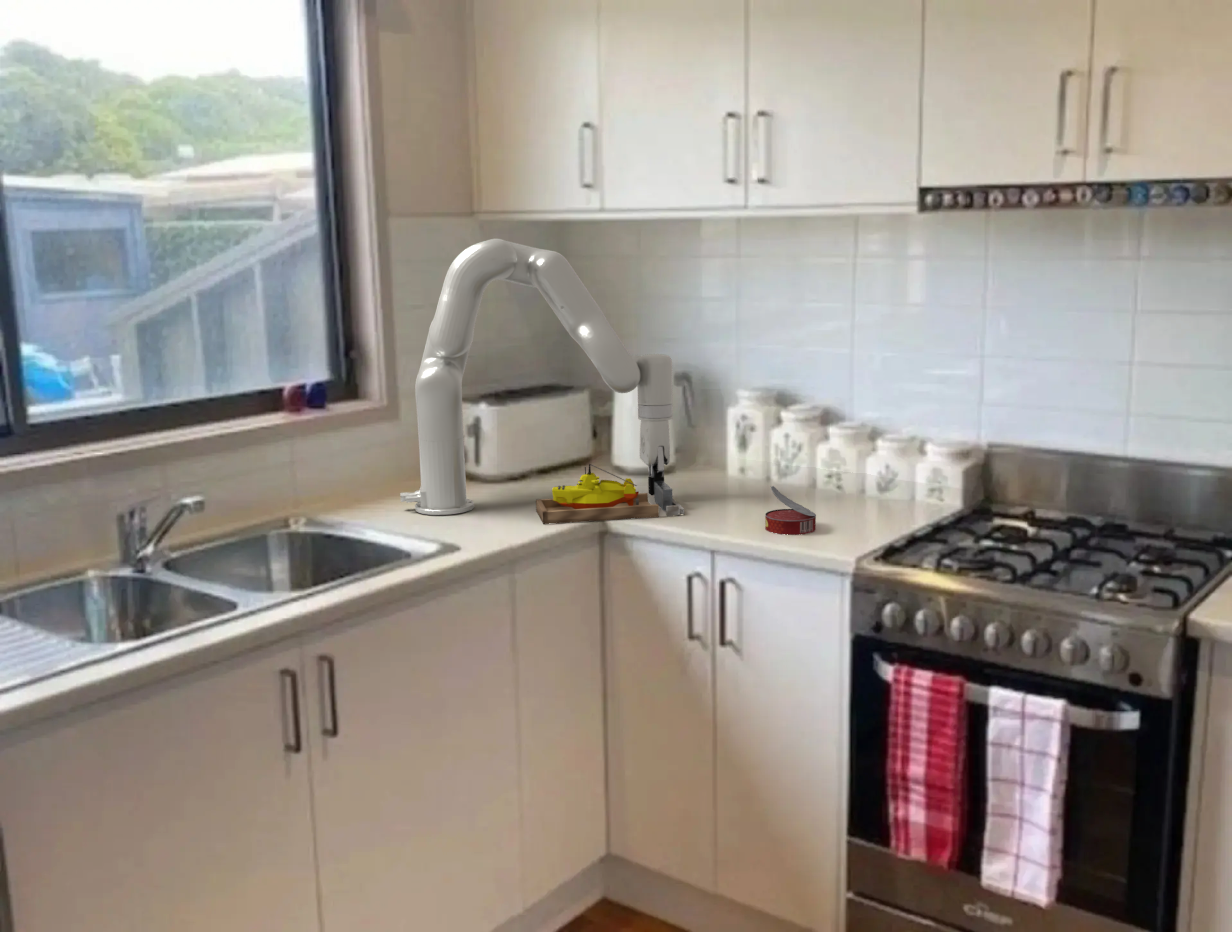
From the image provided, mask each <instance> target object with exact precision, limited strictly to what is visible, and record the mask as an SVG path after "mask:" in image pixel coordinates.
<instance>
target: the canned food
mask: <svg viewBox="0 0 1232 932" xmlns="http://www.w3.org/2000/svg"><path fill="white" fill-rule="evenodd" d="M770 490H771V491H772V494H774V496H775V497H776V498H777V499H778V500H779V501H780V502H781V503H782V504H783V505H785V506H786V507H788V508H779V509H778V508H777V509H772V510H769V511H767V512H766V513H765V515H764V517H765V518H764V520H765V521H764V522H765V523H764V524H765V525H764V526H765V527H764V528H765V530H766V531H767V532H769V533H771V532H773V533H772V534H775V533H777V535H782V534H785V536H800V535H801V534H802V535H806V534H811V533H813V532H815V531H816V528H817V527H816V524H817V523H816V522H817V521H816V520H817V519H816V518H817V514H816V512H813V511H812V510H811V509H809V508H806V507H805V506H803V505H801V504H800V503H797V502H796V501H794V500H793V499H791V498H789V497H787V496H786V495H784V494H783V493H781V492H780V491H779V490H778V489H777V488H776V487H775V486H774V485H771V486H770ZM787 534H788V535H787ZM799 534H800V535H799Z"/></svg>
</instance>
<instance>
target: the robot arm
mask: <svg viewBox="0 0 1232 932" xmlns="http://www.w3.org/2000/svg"><path fill="white" fill-rule="evenodd" d="M499 280H500V281H504V282H508V283H511V284H517V285H521V286H527V287H531V288H537V290H538V292H540V294H541V295H542V298H543V299H545V301H546V303H547V304H548V306H549V307H550V308H551V309H552V311H553V313H554V314H555V317H556V318H558V320H559V322H560V323H561V325H562V326H563V327H564V329H565V331H566V332H567V333H568V334H569V336H570V337H571V338H572V339H573V340H574V341H575V342H576V343H577V344H578V345H579V346H580V348H581V349H582V350H583V351H584V353H585V354H586V355H587V357H588V358H589V360H591V362H592V364H593V366H594V367H595V368H596V370H597V372H598V373H599V374H600V376H601V378H602V380H603V382H604V383H605V384H606V386H608V388H609V389H611V390H612V391H613V392H615V393H618V394H627V393H631V392H632V391H633V390H635V389H636V388H637V419H638V420H639V421H640V425H639V426H640V428H639V430H640V431H639V459H640V460H641V461H642V462H643V463H644V464H645V465H646V466H647V470H648V471H647V472H648V477H647V479H648V480H647V481H648V482H647V484H648V486H647V487H648V495H650V496H652V497H654V481H664V482H665V465H666V466H667V465H669V464H670V460H671V458H670V457H671V441H670V426H669V425H670V423H669V422H670V420H673V417H674V415H673V414H674V413H673V411H674V410H673V409H674V407H673V405H674V404H673V361H672V358H671V356H669V355H667V354H662V353H652V354H651V353H649V354H644V355H638V354H637V355H636V354H635V355H634V354H630V352H629V351H628V349H627V348H626V346H625V345H624V343H623V342H622V340H621V339H620V337H619V336H618V334H617V333H616V331H615V330H614V329H613V327H612V326H611V324H610V322H609V321H608V319H607V317H606V316H605V314H604V312H603V310H602V309H601V307H600V305H599V304H598V303H597V302H596V300H595V299H594V297H593V296H592V294H591V292H589V290H588V289H587V287H586V286H585V284H584V283H583V281H582V280H581V279H580V277H579V275H578V274H577V273H576V271H575V269H574V267H572V265H571V264H570V262H569V261H568V260H567V258H566V257H565V256H564V255H563V254H561V253H559V252H558V251H554V250H549V249H543V248H538V247H535V246H529V245H525V244H521V243H517V242H514V241H513V242H512V241H508V240H505V239H502V238H491V239H487V240H484V241H480V242H477V243H474V244H472V245H470V246H468V247H466V248H464V250H462V251H461V252H460V253H459V254H458V255H457V256H456V257H455V258H454V259H453V261H452V263H451V264H450V266H449V268H448V269H447V271H446V275H445V277H444V281H443V284H442V288H441V292H440V295H439V298H438V302H437V306H436V310H435V313H434V316H433V319H432V320H431V323H430V326H429V328H428V333H427V337H426V341H425V346H424V350H423V353H422V358H421V361H420V366H419V370H418V372H417V375H416V379H415V386H414V387H415V388H414V395H415V406H416V418H417V433H418V435H417V436H418V448H419V449H418V451H419V468H420V469H419V471H420V487H419V490H418V489H417V490H415V491H414V492H409V491H408V492H407V491H406V492H400V493H399V494H400V495H399V496H400V503H401V502H403V503H404V502H405V503H407V504H408V503H415V504H414V510H415V511H416V512H417V513H419V514H423V515H429V516H430V515H431V516H449V515H456V514H461V513H466V512H470V511H472V510H473V509H474V507H475V502H474V500H472V499H470V498H467V483H466V482H467V479H466V477H467V476H466V461H465V459H466V458H465V455H466V454H465V438H464V437H465V435H464V422H463V421H464V418H463V388H462V387H463V385H462V383H463V378H464V373H465V369H466V365H467V363H468V362H467V361H468V358H469V354H470V350H471V346H472V343H473V341H474V337H475V326H476V322H477V318H478V314H479V310H480V307H481V303H482V300H483V296H484V293H485V290H486V289H487V287H488V286H489V284H491V283H492V282H493V281H499Z"/></svg>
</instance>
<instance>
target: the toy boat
mask: <svg viewBox="0 0 1232 932" xmlns="http://www.w3.org/2000/svg"><path fill="white" fill-rule="evenodd" d="M591 467H594V468H596V469H598V470H601V471H602V472H605V473H607V474H610V475H611V476H613V477H615V478H618V479H619V480H622V481H623V483H621V482H619V481H616V480H611V479H601V480H600V476H599V475H598V476H596V473H594V472H592V470H591V469H592V468H591ZM637 486H638V485H637V484H635V483H634V481H633V480H632V479H631V478H628V477H627V478H625V479H624V478H622V477H620V476H617V475H615V474H613V473H611V472H609V471H606V470H604V469H602V468H600V467H599V466H596V465H594V464H591V463H588V472H587V467H586V466H585V467H584V474H581V476H580V478H579V480H578V481H577V483H576V485H558V486H553V487H552V488H551V493H552V499H553V500H554V501H555V502H557V503H559V504H560V505H562V506H567V507H572V508H574V509H586V508H603V507H613V506H615V505H617V504H619V503H622V502H627V504H628V505H629V506H633V499H634V498H636V497H637V495H638V493H640V492H639V491H637V490H636V487H637ZM636 505H639V498H636Z"/></svg>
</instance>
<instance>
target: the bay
mask: <svg viewBox="0 0 1232 932" xmlns="http://www.w3.org/2000/svg"><path fill="white" fill-rule="evenodd" d="M648 495H649V493H648V492H641V493H640V492H639V493H638V495H637V497H636V498H639V505H636V498H634V499H633V506H629V505H628V504H627V502H622V503H619V504H617V505H615V506H613V507H603V508H586V509H574V508H572V507H567V506H562V505H560V504H559V503H557V502H555V501H554V500H553V498H540V499H539V498H537V499H535V505H536V506H535V508H536V509H535V510H536V511H535V512H536V513H537V515H538V517H539V519H540V521H541V522H542V524H543V525H550V524H549V523H556V524H571V523H570V522H572V523H586V522H603V521H615V520H616V521H617V520H632V519H631V518H635V519H648V518H659V517H660V509H659V508H660V507H659V505H658V504H656V503H655V504H651V503H649V496H648ZM665 514H666V515H667V517H673V515H680V514H684V515H685V508H684V507H683V506H682V505H681V504H679V502H677V501H676V500H675V499H674V498H673V506H666V511H665ZM666 515H665V516H666Z"/></svg>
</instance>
